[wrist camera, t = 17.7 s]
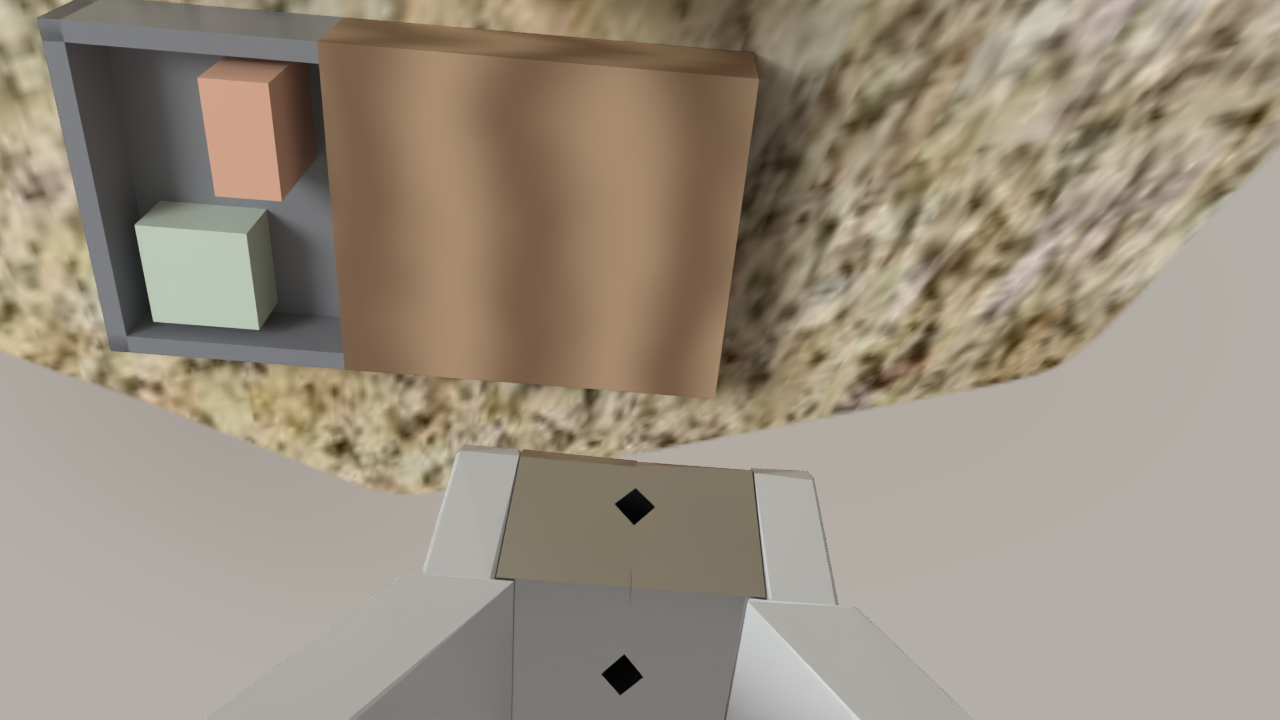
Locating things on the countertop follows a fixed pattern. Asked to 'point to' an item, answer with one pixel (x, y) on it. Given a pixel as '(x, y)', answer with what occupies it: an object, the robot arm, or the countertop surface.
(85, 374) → the countertop surface
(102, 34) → the tray
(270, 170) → the tile terracotta
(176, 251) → the tile sage
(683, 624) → the robot arm
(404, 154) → the board
